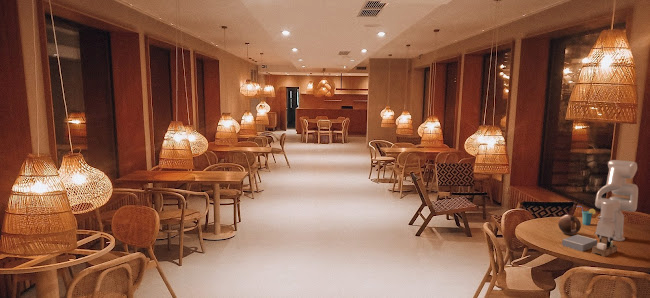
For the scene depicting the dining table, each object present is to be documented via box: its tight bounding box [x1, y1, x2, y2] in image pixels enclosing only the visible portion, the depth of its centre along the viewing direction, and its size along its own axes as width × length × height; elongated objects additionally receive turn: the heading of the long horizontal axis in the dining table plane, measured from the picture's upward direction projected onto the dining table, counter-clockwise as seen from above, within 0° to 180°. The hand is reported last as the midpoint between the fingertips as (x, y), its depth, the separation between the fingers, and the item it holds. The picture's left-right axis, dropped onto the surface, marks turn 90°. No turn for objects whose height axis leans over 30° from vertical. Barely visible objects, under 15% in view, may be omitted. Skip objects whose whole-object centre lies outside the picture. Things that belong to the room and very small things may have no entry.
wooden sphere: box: [557, 214, 582, 236], centre depth 324 cm, size 15×15×15 cm
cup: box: [576, 205, 597, 226], centre depth 349 cm, size 14×8×15 cm, turn 55°
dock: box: [561, 234, 598, 252], centre depth 299 cm, size 20×14×5 cm
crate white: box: [597, 242, 606, 250], centre depth 283 cm, size 4×4×4 cm
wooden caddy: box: [591, 236, 618, 258], centre depth 285 cm, size 17×8×11 cm, turn 123°
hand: (604, 245), depth 285 cm, fingers closed on wooden caddy, 3 cm apart
